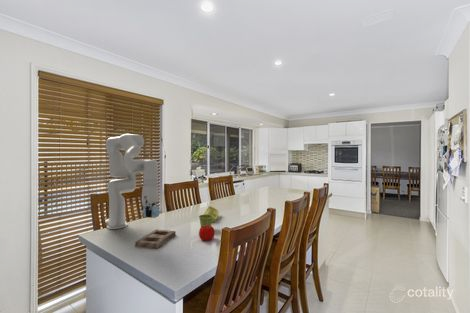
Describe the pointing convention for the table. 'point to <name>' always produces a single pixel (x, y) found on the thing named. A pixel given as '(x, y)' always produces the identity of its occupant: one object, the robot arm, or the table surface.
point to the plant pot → (205, 219)
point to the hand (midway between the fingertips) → (151, 215)
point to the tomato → (206, 232)
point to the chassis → (155, 239)
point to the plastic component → (212, 213)
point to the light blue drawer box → (154, 211)
